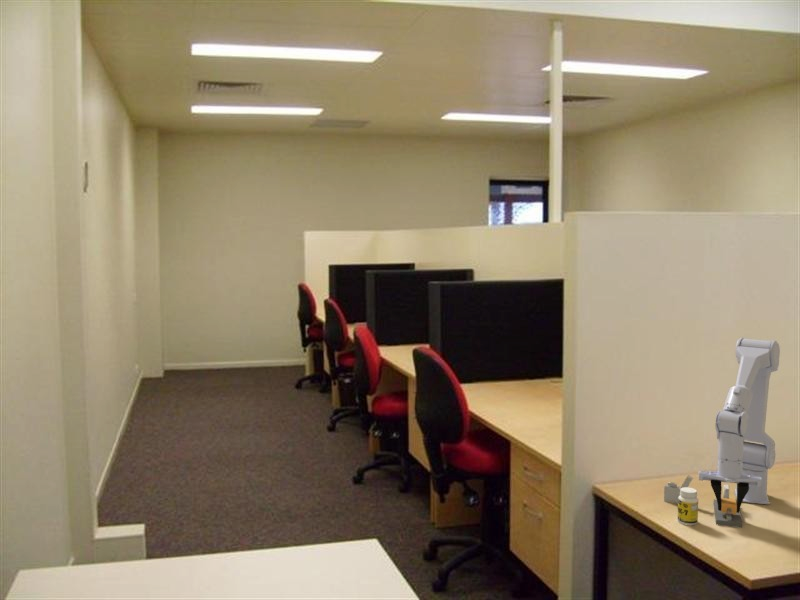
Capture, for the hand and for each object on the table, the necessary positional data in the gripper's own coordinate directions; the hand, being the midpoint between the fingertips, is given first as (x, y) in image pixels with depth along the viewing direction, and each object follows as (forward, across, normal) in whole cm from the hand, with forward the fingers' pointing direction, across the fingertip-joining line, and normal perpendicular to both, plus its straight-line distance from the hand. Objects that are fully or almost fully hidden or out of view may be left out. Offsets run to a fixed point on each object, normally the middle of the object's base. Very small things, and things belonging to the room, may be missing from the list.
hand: (728, 510), depth 189 cm
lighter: (+3, -12, +9) cm, 15 cm away
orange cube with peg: (0, 0, -1) cm, 1 cm away
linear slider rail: (+3, 0, +4) cm, 4 cm away
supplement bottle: (+3, -10, -5) cm, 11 cm away
